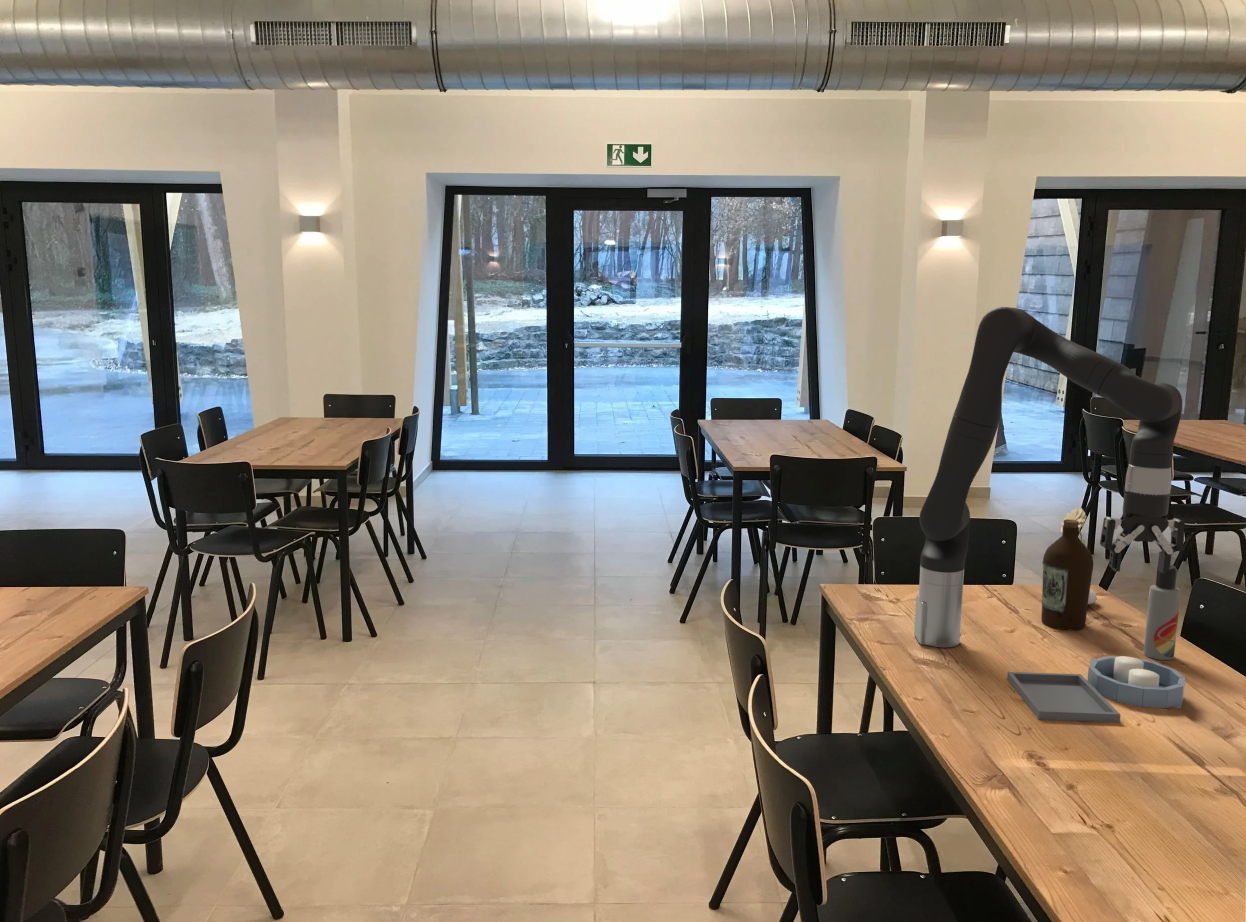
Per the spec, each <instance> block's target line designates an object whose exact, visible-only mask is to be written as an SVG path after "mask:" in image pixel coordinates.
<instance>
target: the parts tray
mask: <svg viewBox="0 0 1246 922" xmlns="http://www.w3.org/2000/svg"><path fill="white" fill-rule="evenodd" d="M1006 673H1007V674H1006V675H1007V677H1006V680H1007V681H1008V682H1009V684H1010V685H1011V686H1012V687H1013V689H1014V691H1016V693H1017V694H1018V695H1019V696H1020V698H1021V699H1022V700H1023V702H1024V703H1025V704H1026V705H1027V707H1028V708H1029V709H1030V711H1031V712H1032V713H1033V715H1034V716H1035V717H1036V719H1037V720H1046V721H1066V722H1067V721H1068V722H1069V721H1075V722H1098V723H1118V724H1119V723H1120V722H1121V714H1120V712H1119V711H1118V710H1117V709H1116V708H1115V707H1114V706H1113V705H1112V704H1111V703H1110V702H1109V701H1108V699H1106V697H1105V696H1103V695H1101V694H1100V693H1099V692H1098V691H1097V690H1096V689H1095V688H1094V687H1093V686H1092V685H1091V684H1090V683H1089V682H1088V681H1087V680H1088V679H1086V678H1085V676H1083V674H1082V673H1081V674H1078V673H1057V672H1055V673H1053V672H1051V673H1050V672H1023V671H1022V672H1021V671H1007V672H1006Z"/></svg>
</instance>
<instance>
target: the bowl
mask: <svg viewBox="0 0 1246 922" xmlns="http://www.w3.org/2000/svg"><path fill="white" fill-rule="evenodd" d="M1116 657H1117V656H1110V655H1107V656H1103V657H1098V658H1094V659H1092V660H1091V661H1090V664H1089V665H1088V671H1087V679H1086V680H1087V681H1088V682H1089V683H1090V684H1091V685H1092V686H1093V687H1094V688H1095V689H1096V690H1097V691H1098V692H1099V693H1100V694H1101V695H1102V696H1103V697H1104V698H1108V699H1110V700H1112V701H1115V702H1118V703H1122V704H1125V705H1130V706H1131V705H1132V706H1136V707H1140V708H1156V709H1157V708H1159V709H1161V708H1162V709H1163V708H1164V709H1168V708H1171V707H1175V708H1176V709H1177V710H1180V708H1181V709H1182V706H1183V702H1184V696H1185V685H1186V677H1185V676H1184V675H1182V674H1181V673H1180V672H1179V671H1177V670H1176V669H1175V668H1172V667H1169V666H1167V665H1165V664H1161V663H1159V662H1156V661H1153V660H1146V659H1142V658H1136V657H1135V658H1136V659H1139V660H1141V661H1143V662H1144V667H1143V669H1144V670H1149V671H1152V672H1155V673H1157V674H1158V675H1159V687H1141V686H1136V685H1132V684H1127V683H1122V682H1119V681H1116V680H1114V679H1113V674H1114V663H1115V658H1116Z"/></svg>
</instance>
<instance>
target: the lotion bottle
mask: <svg viewBox="0 0 1246 922" xmlns="http://www.w3.org/2000/svg"><path fill="white" fill-rule="evenodd" d="M1155 573H1156V574H1155V584H1151V585H1150V586H1149V593H1148V599H1147V600H1148V601H1147V602H1148V603H1147V611H1146V612H1147V613H1146V620H1145V621H1146V622H1145V630H1144V631H1145V632H1144V644H1143V654H1144V655H1145V656H1146V657H1148V658H1151V659H1154V660H1159V661H1172V660H1173V659H1174V657H1175V651H1176V642H1177V631H1178V623H1179V622H1178V621H1179V613H1180V611H1179V610H1180V603H1181V593H1182V592H1181V589H1179V588H1178V587H1177V579H1178V569H1177V566H1175V565H1171V564H1170V568H1169V570H1167V572H1166V573H1161V572H1160V571H1158V566H1156V572H1155Z"/></svg>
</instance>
